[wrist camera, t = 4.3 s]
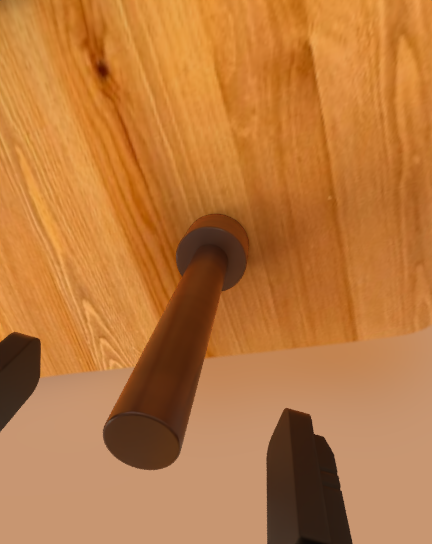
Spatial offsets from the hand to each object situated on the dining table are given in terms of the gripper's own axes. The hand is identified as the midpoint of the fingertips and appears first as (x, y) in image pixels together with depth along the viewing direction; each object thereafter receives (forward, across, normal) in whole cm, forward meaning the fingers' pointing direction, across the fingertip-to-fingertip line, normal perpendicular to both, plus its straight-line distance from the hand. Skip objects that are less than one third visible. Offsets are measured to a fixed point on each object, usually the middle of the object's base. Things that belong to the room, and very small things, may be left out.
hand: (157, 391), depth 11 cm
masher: (+14, 0, 0) cm, 14 cm away
